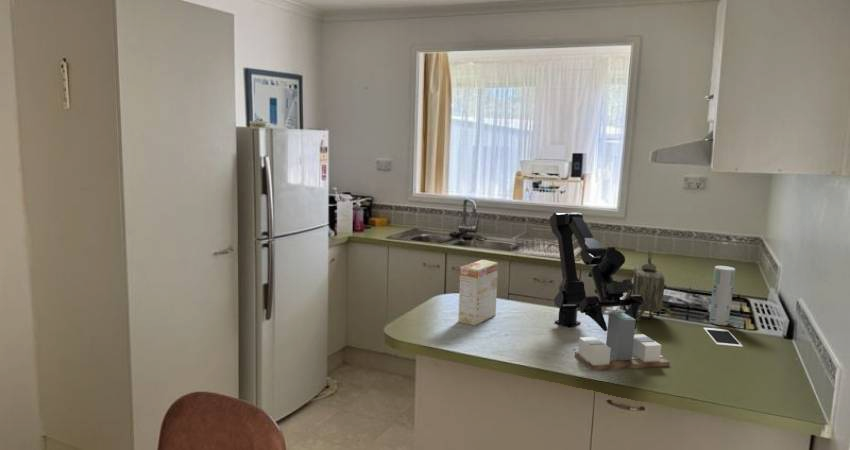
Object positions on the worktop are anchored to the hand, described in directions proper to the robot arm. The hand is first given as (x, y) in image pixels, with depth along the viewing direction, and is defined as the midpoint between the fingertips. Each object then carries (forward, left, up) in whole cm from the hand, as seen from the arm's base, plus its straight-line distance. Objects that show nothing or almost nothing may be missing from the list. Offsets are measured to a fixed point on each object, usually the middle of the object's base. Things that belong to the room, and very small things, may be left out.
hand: (620, 330), depth 169 cm
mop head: (-44, -14, -10) cm, 48 cm away
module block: (0, 0, -8) cm, 8 cm away
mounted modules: (0, 0, -8) cm, 8 cm away
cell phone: (-46, +12, -10) cm, 49 cm away
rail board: (0, 0, -9) cm, 9 cm away
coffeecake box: (+5, -51, -10) cm, 52 cm away
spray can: (-61, +5, -10) cm, 62 cm away
